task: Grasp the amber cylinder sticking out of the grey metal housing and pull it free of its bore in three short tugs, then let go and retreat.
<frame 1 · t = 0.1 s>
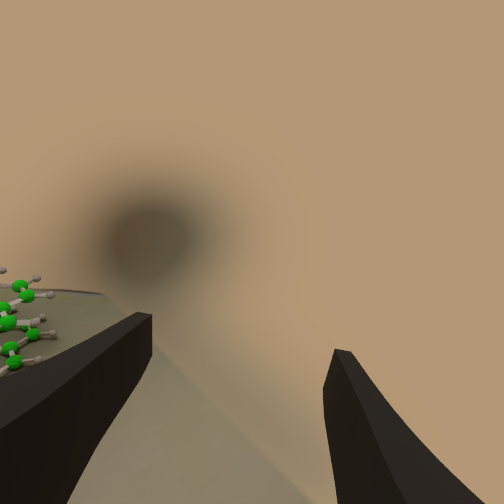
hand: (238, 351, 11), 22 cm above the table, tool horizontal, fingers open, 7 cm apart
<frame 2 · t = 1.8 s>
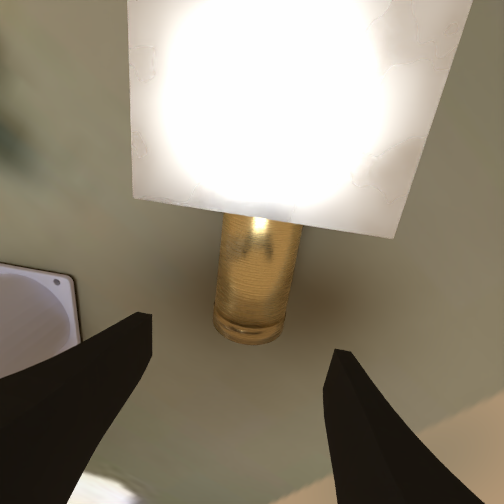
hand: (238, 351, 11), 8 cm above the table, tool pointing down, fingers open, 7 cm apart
housing: (281, 116, 15), on the table
amber cylinder: (261, 230, 15), point 3 cm above the table, slide at 0.0 cm
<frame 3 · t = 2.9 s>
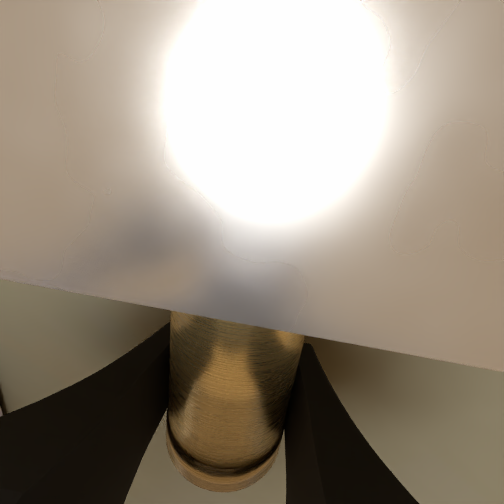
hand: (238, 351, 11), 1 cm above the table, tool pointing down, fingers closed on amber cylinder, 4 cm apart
housing: (277, 98, 9), on the table
amber cylinder: (242, 296, 8), point 3 cm above the table, slide at 0.0 cm, touching gripper
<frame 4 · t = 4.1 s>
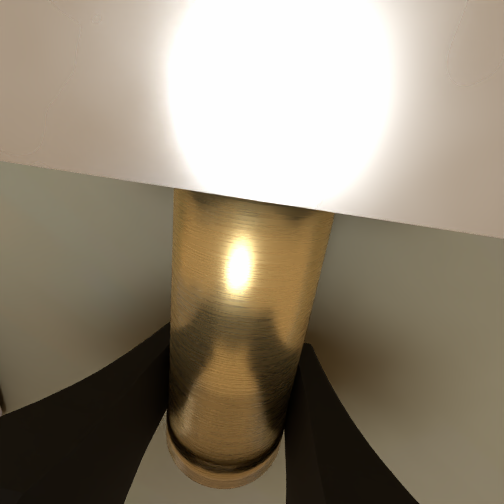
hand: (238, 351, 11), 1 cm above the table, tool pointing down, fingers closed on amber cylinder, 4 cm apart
housing: (288, 21, 8), on the table
amber cylinder: (242, 291, 8), point 3 cm above the table, slide at 1.8 cm, touching gripper
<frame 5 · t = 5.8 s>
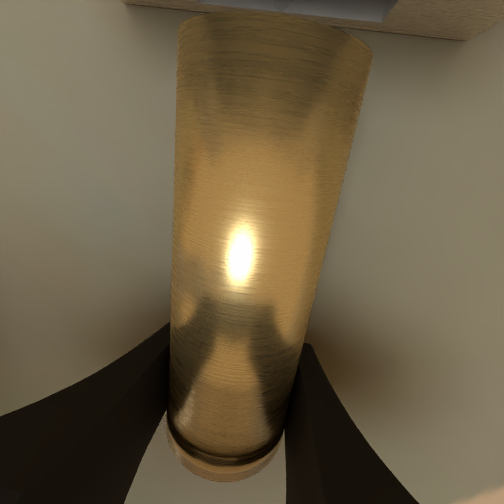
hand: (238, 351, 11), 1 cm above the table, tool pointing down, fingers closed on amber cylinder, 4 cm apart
amber cylinder: (244, 281, 8), point 3 cm above the table, slide at 5.5 cm, touching gripper
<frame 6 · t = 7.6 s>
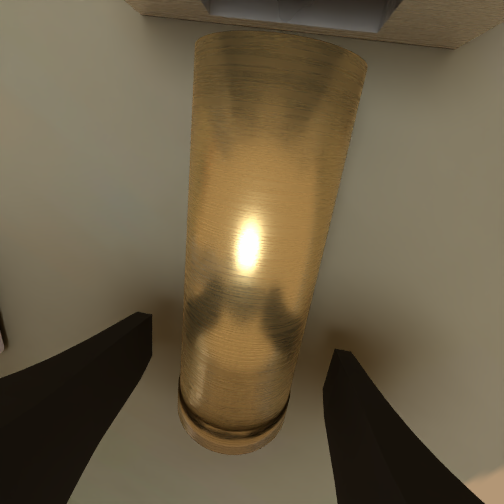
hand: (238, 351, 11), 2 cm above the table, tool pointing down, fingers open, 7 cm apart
amber cylinder: (250, 270, 9), point 3 cm above the table, slide at 5.5 cm
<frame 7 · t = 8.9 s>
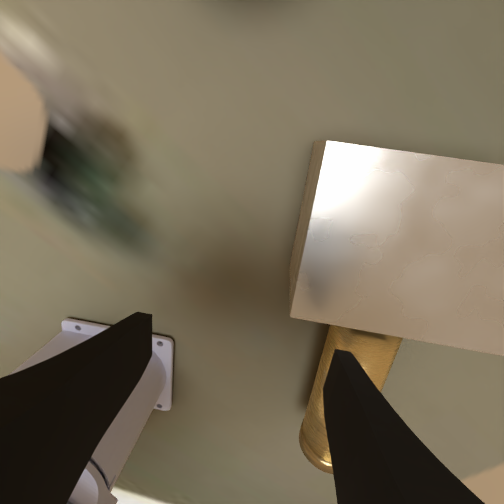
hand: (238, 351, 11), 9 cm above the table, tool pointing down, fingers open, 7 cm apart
housing: (380, 220, 18), on the table
amber cylinder: (344, 388, 19), point 3 cm above the table, slide at 5.5 cm
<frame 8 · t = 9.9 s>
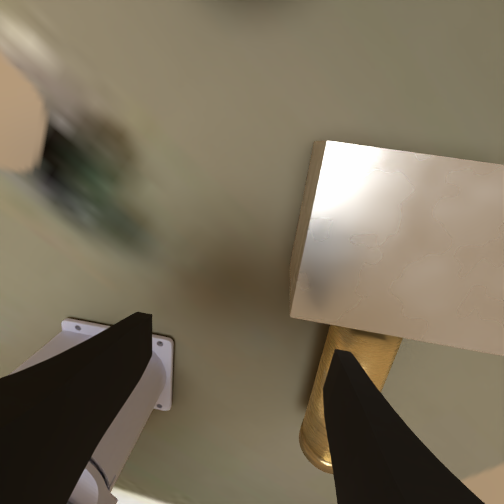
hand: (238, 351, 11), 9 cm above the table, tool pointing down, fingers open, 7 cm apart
housing: (380, 220, 18), on the table
amber cylinder: (344, 388, 19), point 3 cm above the table, slide at 5.5 cm
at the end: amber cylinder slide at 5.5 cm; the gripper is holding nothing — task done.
